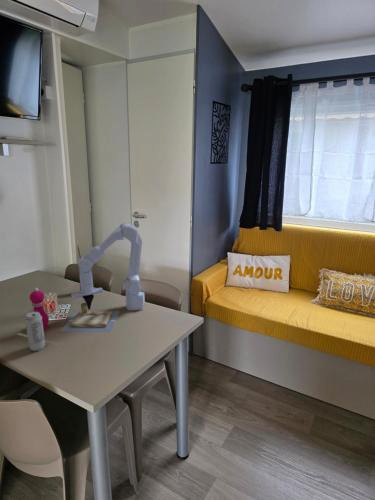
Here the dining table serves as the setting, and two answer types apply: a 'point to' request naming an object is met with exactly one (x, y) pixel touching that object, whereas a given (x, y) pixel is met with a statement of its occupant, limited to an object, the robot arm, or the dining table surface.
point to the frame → (90, 318)
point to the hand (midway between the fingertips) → (88, 308)
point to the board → (92, 329)
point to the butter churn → (79, 269)
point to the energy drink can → (35, 331)
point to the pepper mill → (39, 306)
